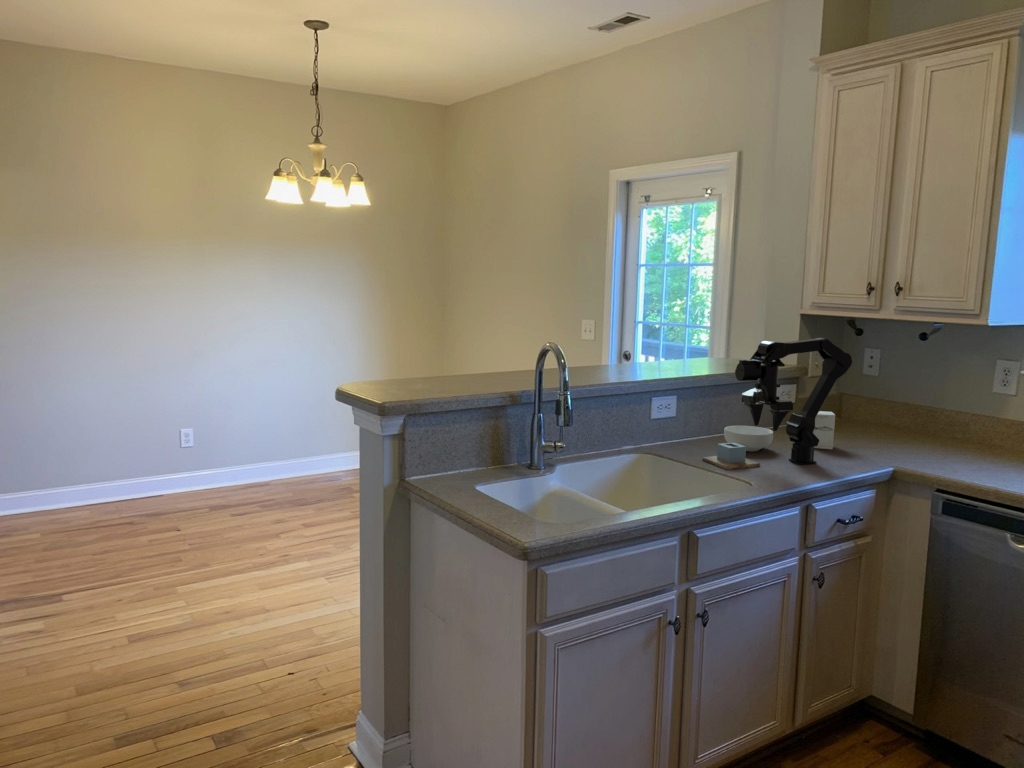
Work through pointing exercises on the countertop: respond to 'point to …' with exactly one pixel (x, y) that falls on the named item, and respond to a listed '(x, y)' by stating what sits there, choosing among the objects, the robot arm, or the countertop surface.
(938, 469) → the countertop surface
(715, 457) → the wooden peg base
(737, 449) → the blue-grey square socket block
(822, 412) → the supplement box
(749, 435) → the cereal bowl
